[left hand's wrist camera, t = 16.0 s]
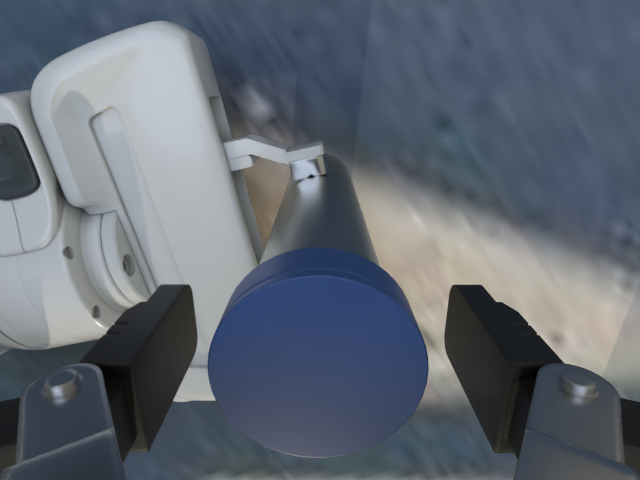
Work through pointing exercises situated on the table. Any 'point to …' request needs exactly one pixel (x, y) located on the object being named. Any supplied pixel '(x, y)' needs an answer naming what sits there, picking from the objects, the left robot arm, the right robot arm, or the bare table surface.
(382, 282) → the lid
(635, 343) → the table surface
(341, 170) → the dark grey tube
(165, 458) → the table surface
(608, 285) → the table surface
